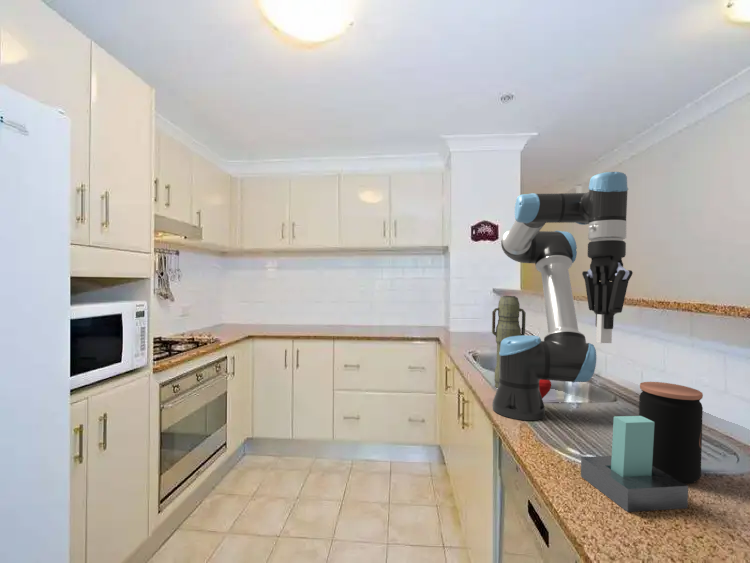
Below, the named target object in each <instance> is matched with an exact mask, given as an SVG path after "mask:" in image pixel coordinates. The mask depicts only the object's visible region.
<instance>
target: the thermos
mask: <svg viewBox="0 0 750 563" xmlns="http://www.w3.org/2000/svg"><path fill="white" fill-rule="evenodd" d="M497 312H498V313H497ZM520 312H521V313H522V314H521V325H520ZM496 313H497V315H498V320H497V324H496V316H497V315H496ZM491 315H492V316H491V317H492V318H491V319H492V320H491V333H492V334H493V336H495V342H496V365H495V368H494V388H495V387H496V388H498V386H499V371H500V355H499V352H500V345H501V341H502V340H503V339H504V338H507V337H512V336H522V335H526V311H525V310H524V309H523V308H520V301H519V298H518V297H516V295H502V296H500V298H499V301H498V306H497V308H494V309H493V311H492V313H491ZM496 388H495V389H496Z"/></svg>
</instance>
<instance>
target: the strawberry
mask: <svg viewBox="0 0 750 563" xmlns="http://www.w3.org/2000/svg"><path fill="white" fill-rule="evenodd" d="M551 387H552V380H540V381H539V390H540V394H541V397H542V400H543V398H545V396H546V395H548V394H549V392H550V391H551Z"/></svg>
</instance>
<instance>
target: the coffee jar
mask: <svg viewBox="0 0 750 563" xmlns="http://www.w3.org/2000/svg"><path fill="white" fill-rule="evenodd" d="M639 389H640V390H641V391H642V392H640V394H639V397H638V398H639V399H638V400H639V401H638V403H639V404H638V416H643V417H645V418H647V419H649V420H651V421H653V422H655V423H654V441H653V460H652V466H654V467H656V468H657V469H659V470H661V471H663V472H665V473H666V474H668V475H670V476H672V477H673V478H675V479H677V480H679V481H680V482H682V483H684V484H686V485H690V484H694V483H696V482H697V481H698V480H700V478H701V476H702V446H703V444H702V442H703V412H704V411H703V409H704V408H703V405H702V403H701V400H702V399H703V396H704V394H703V392H702V391H701V390H699V389H695V388H693V387H690V386H685V385H681V384H675V383H669V382H662V381H661V382H659V381H643V382H640V384H639Z"/></svg>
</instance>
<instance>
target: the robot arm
mask: <svg viewBox="0 0 750 563" xmlns="http://www.w3.org/2000/svg"><path fill="white" fill-rule="evenodd" d="M588 184H589V185H588V192H585V193H584V192H573V193H572V192H570V193H569V192H568V193H534V192H531V193H525V194H523V193H522V194H520V195H518V196H517V197H516V200H515V205H514V218H515V221H514V222H513V224H512V226H511V228H510V229H508V230H507V231H505V233H504V234H503V236H502V238H501V245H500V246H501V248H502V249H501V250H502V251H503V253H504V254H505V255H506V256H507V257H508V258H510V259H511V260H513V261H515V262H517V263H522V264H535V270H536V271H538V272H539V273H540V274H541V281H542V282H541V283H542V289H543V299H544V306H545V307H544V308H545V314H546V315H545V317H546V323H547V324H546V325H547V332H548V333H546V335H545V336H544V337H543V340H542V339H541V337H540V336H538V335H528V334H527V335H526V334H525V335H522V336H512V337H507V338H504V339H503V340H502V341H501V345H500V352H499V355H500V371H499V386H498V389H496V392H495V394H494V397H493V399H492V410H493V412H495V413H497V414H498V415H501V416H502V417H503V416H504V417H506V418H509V419H515V420H521V421H537V420H541V419H543V418H545V417H546V408H545V403H544V400H543V399H542V397H541V394H540V390H539V381H540V380H550V381H554V382H557V381H559V382H571V383H572V384H573V383H586V382H589V381H590V380H592V378H593V376H594V374H595V371H596V368H597V367H596V366H597V351H596V350H597V349H596V347H595V345H594V344H593V343H590V342H587V341H586V337H585V334H583V333H582V332H581V331H579V326H578V320H577V319H578V318H577V314H576V308H575V302H574V296H573V290H572V282H571V278H570V272H569V269H570V268H571V267H572V265H573V264H574V262H575V261H576V259H577V254H578V253H577V252H578V251H577V248H578V247H577V242H576V240H575V237H574V235H573V234H572V233H571V232H570V231H566V230H565V231H563V230H562V231H561V230H554V231H552V230H549V231H548V230H546V231H544V230H542V229H543V227H544V226H545V225H546V224H547V223H548V224H550V223H552V224H557V223H560V224H562V223H563V224H564V223H567V224H568V223H569V224H570V223H571V224H572V223H575V224H578V225H582V226H583V225H585V226H586V225H588V235H587V236H588V237H587V238H588V239H587V240H589V242H588V243H587V258H589V259H591V260H590V264H589V269H588V270H587V271H586V270H584V271H582V274H581V275H582V277H583V279H584V283H585V289H586V290H585V291H586V296H587V297H586V298H587V305H588V309H589V311H592V312H593V313H594V314H595V327H596V332H595V333H596V335H595V336H596V339H595V342H596V343H598V344H612V343H613V342H612V340H613V339H612V337H613V335H612V334H613V333H612V332H613V329H614V318H615V317H614V316H615V315H616V314H619V313H622V312H623V308H624V304H625V300H626V299H625V298H626V294H627V290H628V285H629V281H630V279H631V278H632V275H634V274H633V273H634V272H633V271H632V270H629V269H626V268H625V267H624V263H623V258H625V257H626V254H627V252H626V251H627V243H626V241H625V239H627V214H628V213H627V211H628V209H627V208H628V190H629V187H628V176H627V175H626V173H624V172H621V171H620V172H619V171H606V172H601V173H597V174H595V175H593V176H591V177H590V180H589V183H588ZM541 230H542V231H541Z"/></svg>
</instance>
